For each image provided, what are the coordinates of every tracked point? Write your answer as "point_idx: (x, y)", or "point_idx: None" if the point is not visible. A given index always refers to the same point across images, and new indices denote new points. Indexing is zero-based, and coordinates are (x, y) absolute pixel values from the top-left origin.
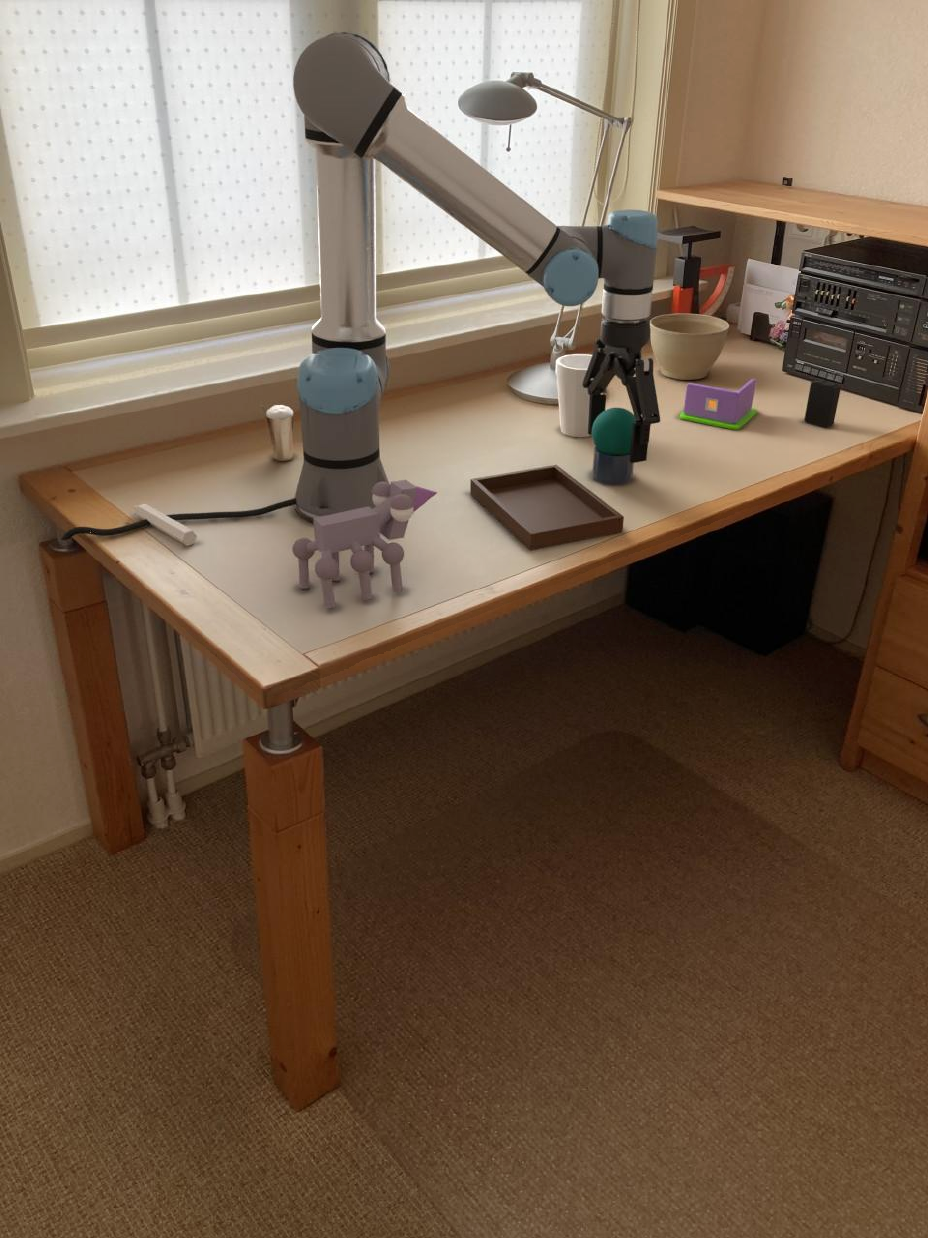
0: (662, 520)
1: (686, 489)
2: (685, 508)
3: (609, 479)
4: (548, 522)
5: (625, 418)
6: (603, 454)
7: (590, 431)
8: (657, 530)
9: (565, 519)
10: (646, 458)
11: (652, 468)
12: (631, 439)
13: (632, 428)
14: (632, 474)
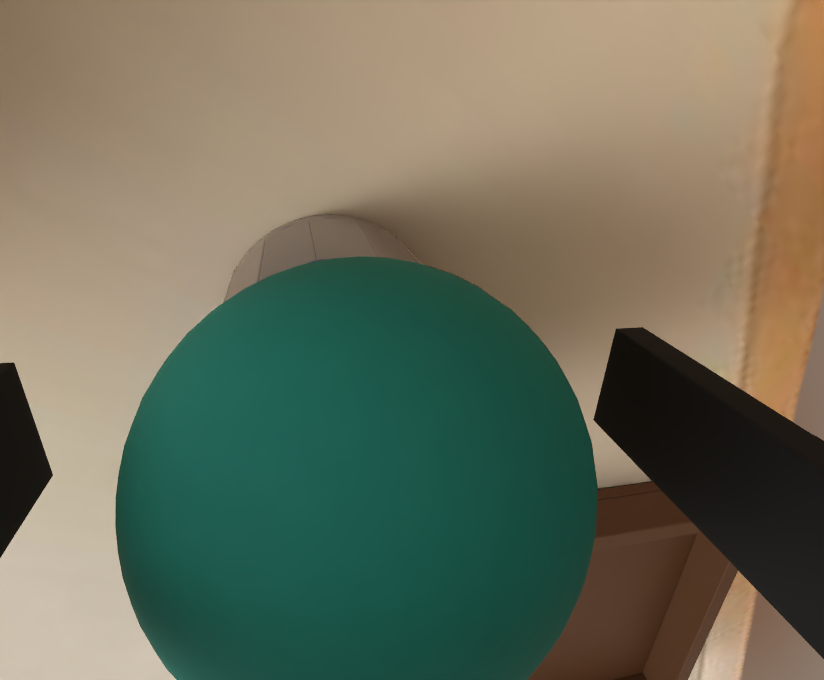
0: (753, 326)
1: (634, 29)
2: (755, 184)
3: None
4: (580, 631)
5: (570, 603)
6: None
7: (38, 489)
8: (782, 376)
9: (591, 593)
10: (653, 335)
11: (301, 16)
12: (699, 526)
13: (778, 606)
14: (403, 244)
